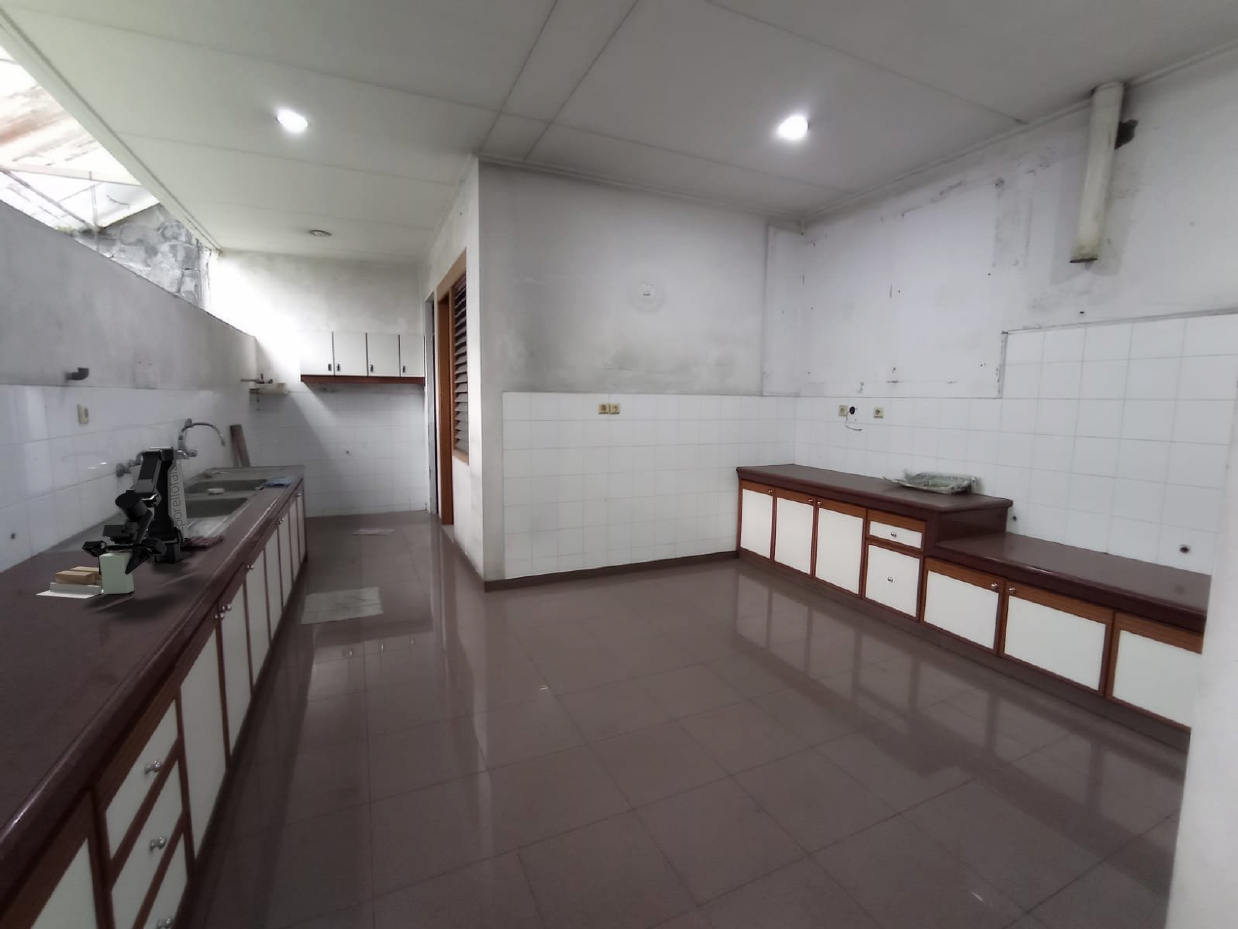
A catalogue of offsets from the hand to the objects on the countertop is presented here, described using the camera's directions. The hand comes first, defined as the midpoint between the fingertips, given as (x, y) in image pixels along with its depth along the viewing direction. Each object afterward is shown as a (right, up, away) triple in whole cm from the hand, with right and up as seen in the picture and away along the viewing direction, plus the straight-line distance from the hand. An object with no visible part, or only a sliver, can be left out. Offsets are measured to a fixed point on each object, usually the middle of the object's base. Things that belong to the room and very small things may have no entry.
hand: (113, 574), depth 156 cm
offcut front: (-16, -4, +9) cm, 19 cm away
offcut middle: (-16, -5, +6) cm, 18 cm away
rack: (-13, -6, +6) cm, 16 cm away
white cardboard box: (-31, +1, +55) cm, 63 cm away
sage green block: (0, -5, +2) cm, 6 cm away
